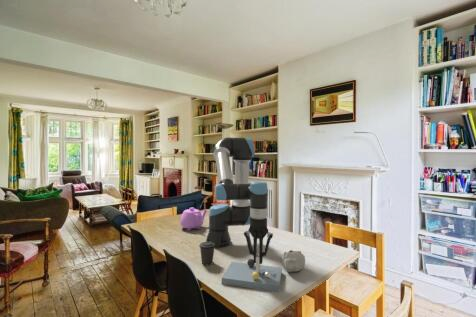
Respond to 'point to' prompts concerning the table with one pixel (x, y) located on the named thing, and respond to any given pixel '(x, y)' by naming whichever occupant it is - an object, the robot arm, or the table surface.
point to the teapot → (192, 218)
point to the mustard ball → (255, 275)
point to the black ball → (250, 262)
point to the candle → (293, 261)
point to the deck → (243, 276)
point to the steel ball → (267, 274)
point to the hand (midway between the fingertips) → (257, 270)
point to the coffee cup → (207, 252)
